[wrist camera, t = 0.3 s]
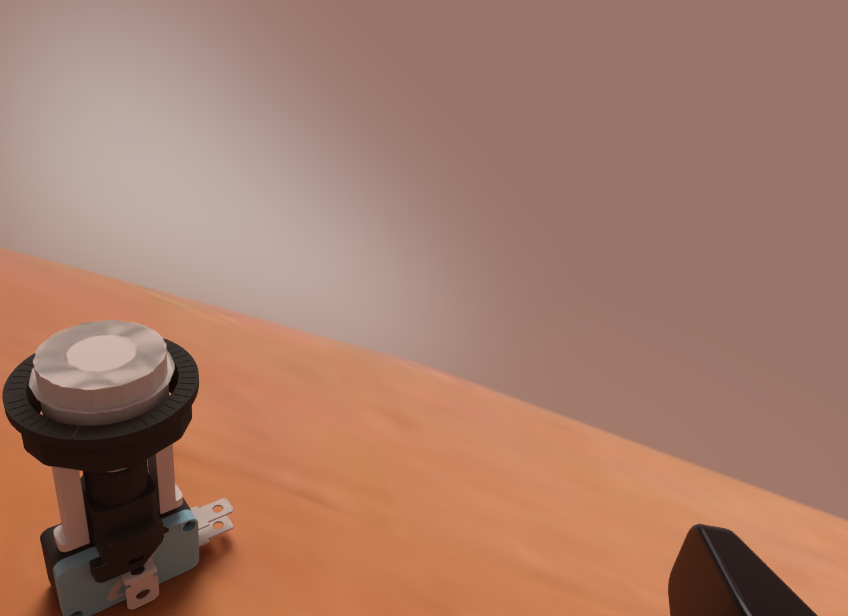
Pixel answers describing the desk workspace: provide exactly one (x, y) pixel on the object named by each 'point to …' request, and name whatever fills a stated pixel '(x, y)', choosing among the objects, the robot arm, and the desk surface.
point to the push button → (112, 461)
